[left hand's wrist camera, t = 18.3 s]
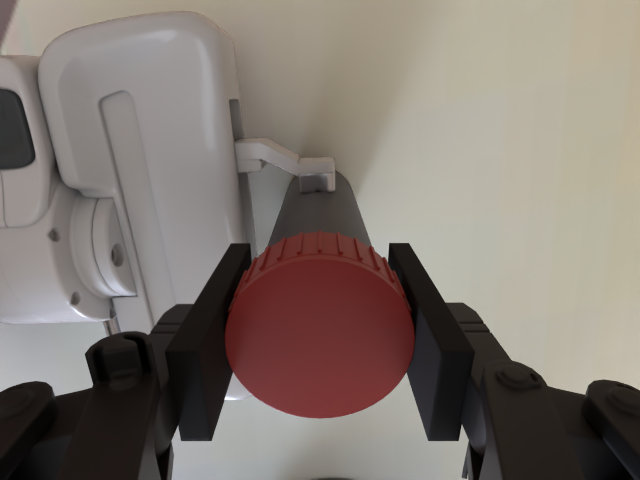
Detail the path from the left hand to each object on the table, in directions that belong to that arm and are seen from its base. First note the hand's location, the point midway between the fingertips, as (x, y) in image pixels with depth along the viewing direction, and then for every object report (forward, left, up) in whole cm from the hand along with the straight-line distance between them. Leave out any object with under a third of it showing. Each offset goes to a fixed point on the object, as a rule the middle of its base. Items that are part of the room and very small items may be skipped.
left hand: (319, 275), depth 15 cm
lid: (0, 0, +4) cm, 4 cm away
